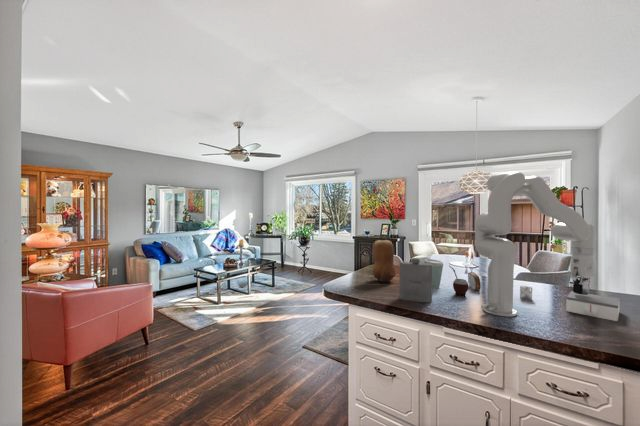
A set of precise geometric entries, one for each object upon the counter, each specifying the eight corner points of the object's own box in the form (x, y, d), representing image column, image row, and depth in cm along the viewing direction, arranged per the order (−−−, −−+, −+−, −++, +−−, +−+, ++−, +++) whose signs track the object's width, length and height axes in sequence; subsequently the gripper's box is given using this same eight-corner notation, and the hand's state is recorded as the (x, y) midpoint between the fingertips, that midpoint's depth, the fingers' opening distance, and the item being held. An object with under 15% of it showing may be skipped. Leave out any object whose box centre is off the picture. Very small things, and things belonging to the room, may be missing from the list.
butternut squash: (382, 277, 190) (382, 238, 189) (400, 282, 179) (400, 240, 179) (367, 281, 181) (368, 239, 180) (385, 285, 170) (386, 241, 170)
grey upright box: (398, 299, 145) (399, 258, 144) (399, 296, 150) (400, 256, 150) (431, 303, 139) (432, 260, 139) (431, 300, 145) (432, 258, 145)
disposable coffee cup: (444, 286, 171) (445, 259, 171) (441, 290, 162) (441, 262, 162) (425, 283, 177) (426, 258, 176) (421, 287, 168) (421, 260, 167)
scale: (617, 322, 119) (618, 306, 119) (565, 311, 130) (566, 297, 130) (619, 312, 131) (619, 298, 130) (571, 303, 142) (571, 290, 142)
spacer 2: (585, 295, 130) (585, 281, 130) (571, 292, 135) (571, 279, 135) (590, 294, 132) (591, 280, 132) (577, 291, 137) (577, 277, 137)
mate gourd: (471, 296, 151) (471, 267, 150) (459, 298, 148) (460, 268, 148) (459, 292, 158) (459, 264, 157) (447, 294, 155) (448, 265, 155)
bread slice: (481, 292, 159) (481, 276, 159) (474, 292, 160) (475, 276, 159) (472, 285, 174) (472, 270, 174) (466, 285, 174) (467, 270, 174)
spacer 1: (528, 301, 144) (528, 288, 144) (517, 298, 149) (517, 286, 149) (534, 300, 147) (534, 287, 147) (523, 297, 151) (523, 285, 151)
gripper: (582, 253, 126) (581, 296, 126) (602, 251, 134) (601, 292, 134) (561, 251, 133) (560, 292, 133) (581, 249, 140) (580, 288, 141)
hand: (581, 291), depth 134 cm, fingers closed on spacer 2, 5 cm apart
